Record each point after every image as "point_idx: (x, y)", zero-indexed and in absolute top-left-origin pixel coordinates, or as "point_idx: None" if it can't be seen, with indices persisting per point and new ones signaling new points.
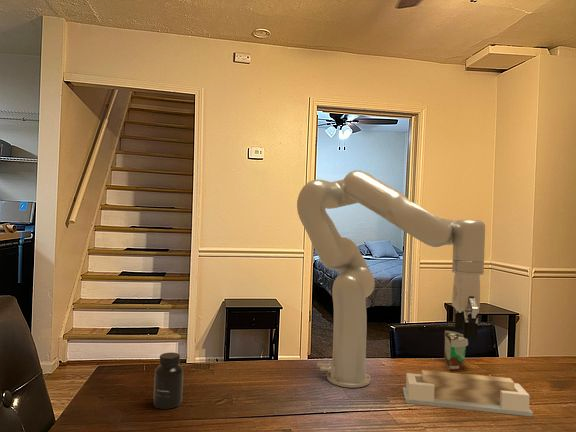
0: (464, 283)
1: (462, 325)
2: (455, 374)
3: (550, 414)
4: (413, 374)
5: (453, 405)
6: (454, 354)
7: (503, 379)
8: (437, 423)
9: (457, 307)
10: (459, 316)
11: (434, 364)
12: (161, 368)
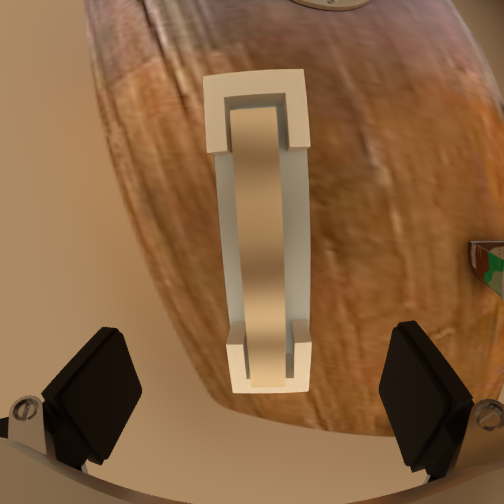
0: None
1: (390, 378)
2: (267, 233)
3: (260, 396)
4: (297, 90)
5: (218, 207)
6: (492, 266)
7: (268, 370)
8: (127, 162)
9: (6, 489)
10: (426, 411)
11: (496, 209)
12: None
